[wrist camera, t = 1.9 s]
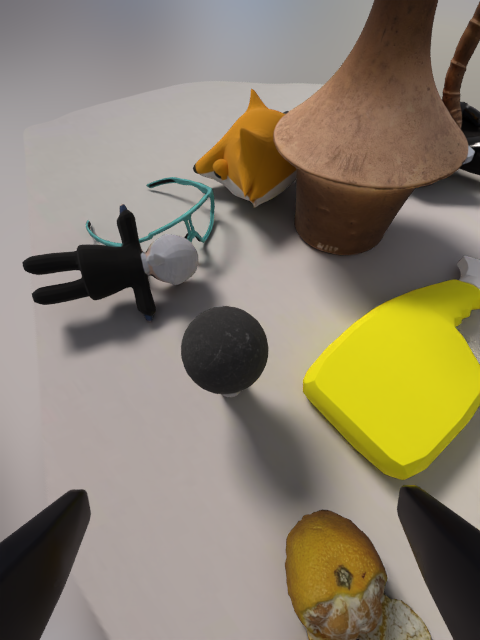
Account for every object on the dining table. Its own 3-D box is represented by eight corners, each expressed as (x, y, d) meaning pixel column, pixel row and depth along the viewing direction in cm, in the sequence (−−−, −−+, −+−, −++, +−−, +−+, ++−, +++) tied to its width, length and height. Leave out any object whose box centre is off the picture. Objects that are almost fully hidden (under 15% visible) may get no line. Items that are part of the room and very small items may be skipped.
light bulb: (265, 360, 26) (274, 292, 17) (260, 424, 23) (267, 379, 14) (204, 353, 26) (184, 284, 18) (191, 415, 23) (160, 367, 15)
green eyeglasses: (153, 290, 30) (134, 253, 26) (80, 241, 37) (56, 205, 32) (238, 221, 36) (234, 182, 32) (162, 189, 42) (150, 153, 38)
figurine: (59, 337, 28) (205, 307, 32) (33, 350, 23) (214, 312, 26) (25, 223, 27) (184, 204, 30) (-12, 207, 21) (189, 186, 24)
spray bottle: (288, 383, 24) (440, 253, 33) (399, 499, 20) (543, 313, 28) (293, 369, 22) (456, 233, 30) (421, 498, 17) (572, 294, 26)
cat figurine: (459, 230, 38) (368, 182, 49) (552, 174, 37) (438, 138, 49) (481, 159, 30) (367, 121, 42) (598, 86, 30) (450, 69, 41)
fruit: (302, 727, 15) (317, 788, 12) (250, 534, 19) (251, 541, 16) (438, 656, 16) (485, 694, 13) (360, 491, 20) (381, 489, 17)
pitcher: (378, 177, 40) (565, -284, 17) (443, 265, 31) (1063, -478, 7) (255, 192, 39) (268, -283, 15) (286, 287, 30) (436, -515, 6)
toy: (227, 175, 48) (194, 113, 41) (314, 135, 42) (292, 54, 35) (205, 253, 38) (155, 187, 31) (319, 216, 31) (288, 121, 24)
